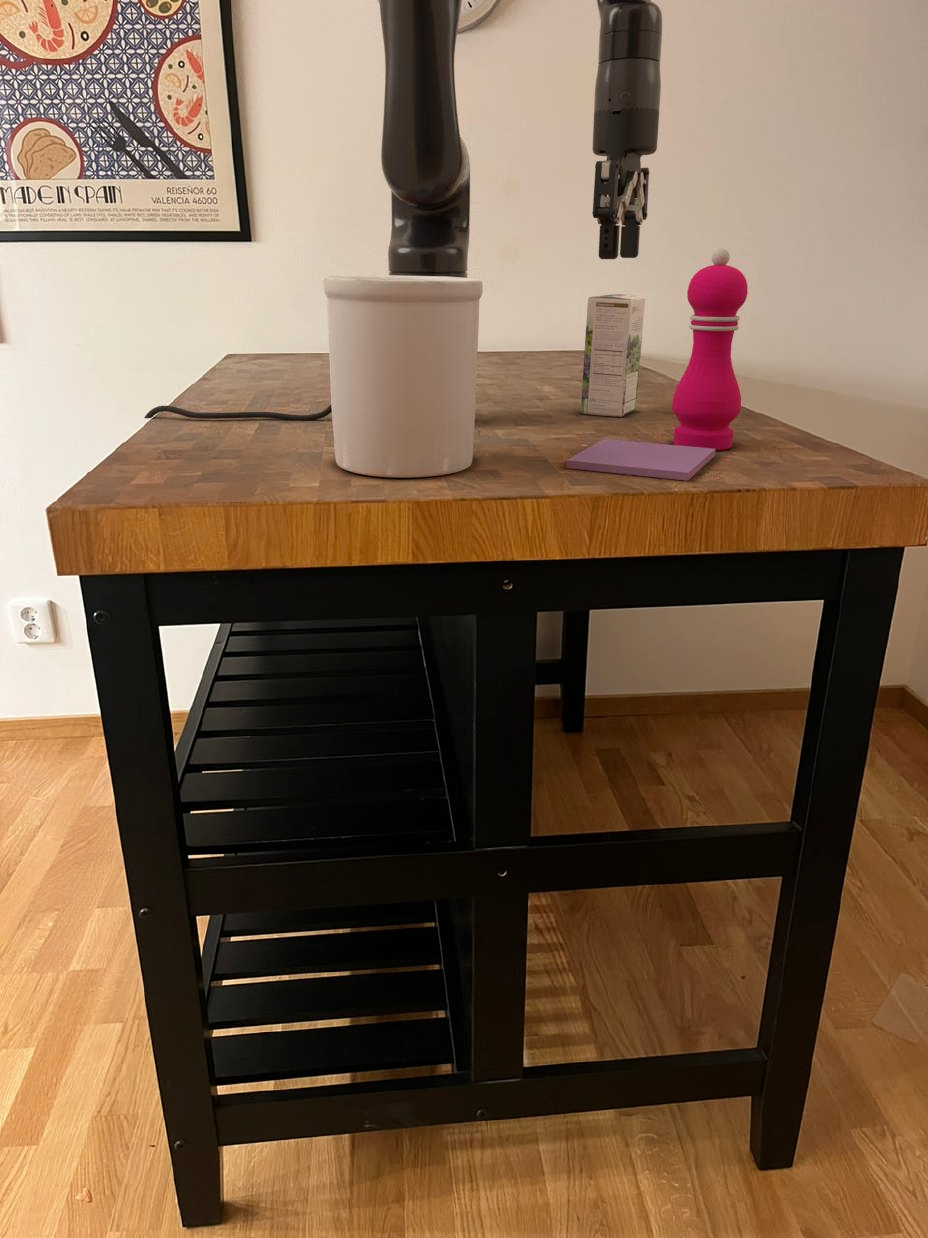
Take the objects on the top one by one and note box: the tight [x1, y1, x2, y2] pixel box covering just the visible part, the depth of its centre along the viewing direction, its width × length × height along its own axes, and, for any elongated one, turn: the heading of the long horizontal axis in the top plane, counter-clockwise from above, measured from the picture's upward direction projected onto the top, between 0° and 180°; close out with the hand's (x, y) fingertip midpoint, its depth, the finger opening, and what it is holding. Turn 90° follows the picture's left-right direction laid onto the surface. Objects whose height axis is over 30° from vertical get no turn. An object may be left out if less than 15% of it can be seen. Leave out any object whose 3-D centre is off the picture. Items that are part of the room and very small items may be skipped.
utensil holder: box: [323, 274, 484, 479], centre depth 89 cm, size 15×15×18 cm
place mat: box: [565, 438, 716, 482], centre depth 93 cm, size 12×12×1 cm
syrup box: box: [580, 293, 646, 418], centre depth 118 cm, size 6×6×14 cm
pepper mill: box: [671, 247, 749, 452], centre depth 98 cm, size 7×7×20 cm
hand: (618, 258), depth 114 cm, fingers open, 8 cm apart
